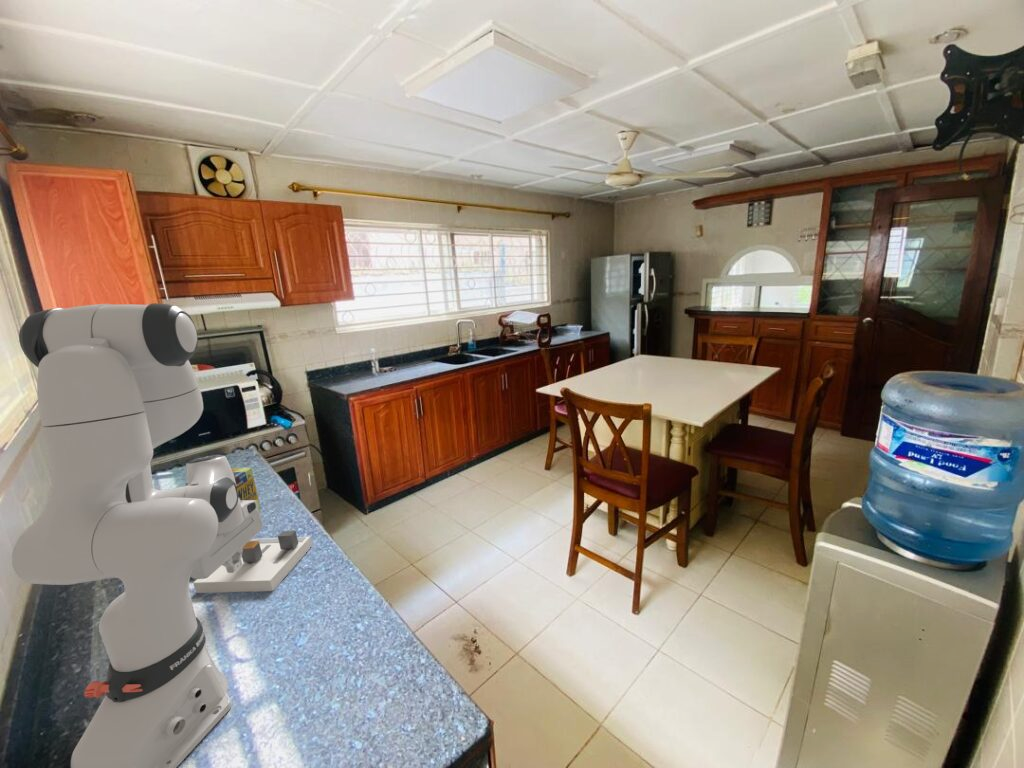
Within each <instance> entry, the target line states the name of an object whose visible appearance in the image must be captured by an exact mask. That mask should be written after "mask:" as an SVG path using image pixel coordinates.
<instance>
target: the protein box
mask: <svg viewBox="0 0 1024 768" xmlns="http://www.w3.org/2000/svg"><path fill="white" fill-rule="evenodd" d="M231 469H232V472H233V475H234V478H235V481H236V488H237V492H238V497H239V499H240V501H243V500H256V501H257V502H258V507H257V509H258V510H259V511H260V510H261V509H262V507H261V503H260V500H259V495H258V491H257V486H256V484H255V483H256V482H255V479H254V475H253V471H252V470H253V469H252V467H243V468H242V467H241V468H240V467H239V468H231ZM184 484H185V485H184V486H188V482H186V483H184ZM260 508H261V509H260Z"/></svg>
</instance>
